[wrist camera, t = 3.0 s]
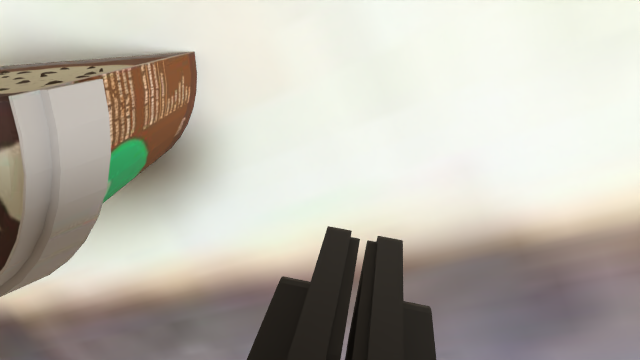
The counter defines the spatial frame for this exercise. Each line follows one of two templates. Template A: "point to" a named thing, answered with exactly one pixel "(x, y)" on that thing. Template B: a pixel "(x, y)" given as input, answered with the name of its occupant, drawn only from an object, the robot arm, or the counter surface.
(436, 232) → the counter surface
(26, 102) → the food container
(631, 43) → the counter surface
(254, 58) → the counter surface
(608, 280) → the counter surface
